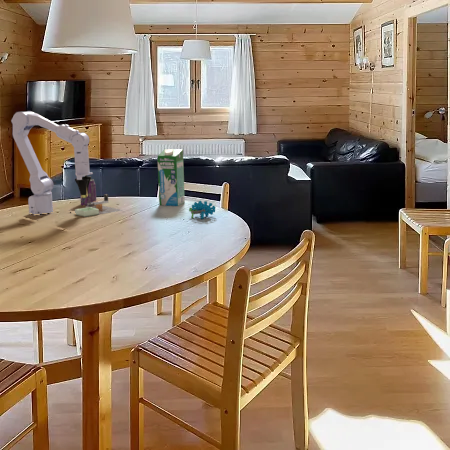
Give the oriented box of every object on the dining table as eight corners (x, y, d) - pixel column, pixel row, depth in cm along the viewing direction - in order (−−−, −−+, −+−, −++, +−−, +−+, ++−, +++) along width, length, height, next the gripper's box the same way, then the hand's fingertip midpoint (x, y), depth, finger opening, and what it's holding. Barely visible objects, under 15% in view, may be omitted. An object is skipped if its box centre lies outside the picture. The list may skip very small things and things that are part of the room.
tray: (84, 216, 253) (84, 211, 252) (75, 214, 258) (75, 209, 257) (99, 214, 258) (98, 209, 257) (89, 212, 263) (89, 207, 262)
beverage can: (79, 205, 283) (77, 179, 280) (94, 203, 286) (93, 178, 283) (82, 207, 276) (81, 181, 274) (98, 206, 279) (96, 180, 277)
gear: (219, 211, 254) (211, 198, 246) (217, 223, 251) (209, 210, 243) (194, 214, 258) (185, 201, 250) (192, 226, 254) (184, 213, 246)
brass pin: (82, 198, 256) (81, 185, 255) (79, 197, 258) (78, 184, 257) (88, 197, 258) (87, 184, 257) (85, 196, 260) (84, 183, 259)
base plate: (85, 218, 253) (84, 209, 252) (63, 213, 265) (63, 204, 264) (123, 211, 266) (122, 202, 265) (101, 207, 278) (100, 198, 277)
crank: (89, 206, 263) (89, 197, 262) (86, 205, 265) (85, 197, 264) (110, 202, 270) (109, 194, 269) (106, 201, 272) (105, 193, 271)
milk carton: (159, 205, 279) (157, 150, 274) (166, 201, 288) (164, 148, 282) (177, 206, 277) (175, 150, 271) (184, 202, 285) (183, 148, 280)
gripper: (88, 164, 248) (90, 197, 251) (95, 160, 262) (97, 191, 265) (70, 164, 248) (73, 197, 251) (78, 160, 262) (80, 191, 265)
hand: (84, 194), depth 258 cm, fingers closed on brass pin, 3 cm apart
